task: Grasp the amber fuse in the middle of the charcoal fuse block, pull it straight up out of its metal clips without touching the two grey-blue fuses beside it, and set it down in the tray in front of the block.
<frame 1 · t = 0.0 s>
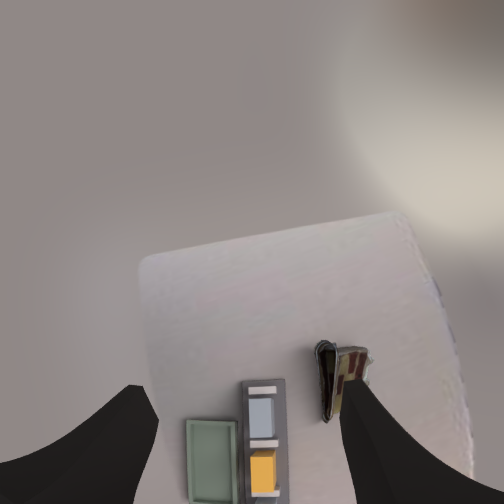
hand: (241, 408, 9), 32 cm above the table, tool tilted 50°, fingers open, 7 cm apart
fuse 1: (264, 416, 35), point 1 cm above the table, touching fuse block
tray: (214, 463, 33), on the table
chocolate cake: (343, 380, 38), on the table
amber fuse: (266, 466, 31), point 1 cm above the table, touching fuse block
fuse block: (266, 464, 32), on the table
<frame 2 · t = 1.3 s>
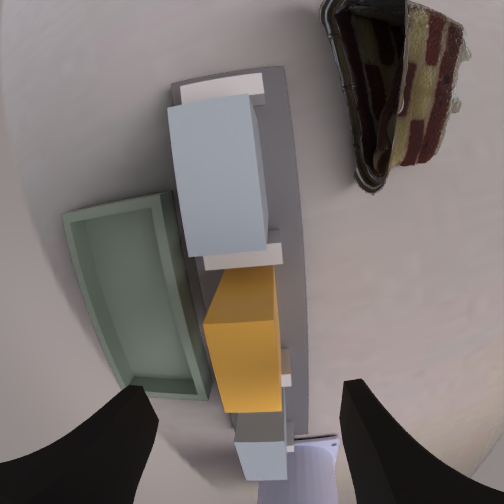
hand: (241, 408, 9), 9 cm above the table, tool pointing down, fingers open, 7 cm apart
fuse 1: (237, 170, 14), point 1 cm above the table, touching fuse block
tray: (144, 303, 18), on the table
chocolate cake: (396, 90, 14), on the table
amber fuse: (254, 305, 17), point 1 cm above the table, touching fuse block
fuse 2: (266, 395, 19), point 1 cm above the table, touching fuse block
fuse block: (255, 297, 18), on the table
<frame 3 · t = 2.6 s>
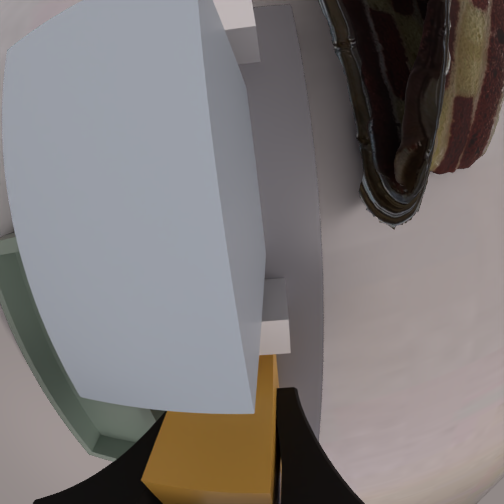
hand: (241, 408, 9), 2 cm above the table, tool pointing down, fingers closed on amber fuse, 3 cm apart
fuse 1: (211, 176, 8), point 1 cm above the table, touching fuse block
tray: (97, 361, 12), on the table
chocolate cake: (419, 55, 7), on the table
amber fuse: (244, 382, 10), point 1 cm above the table, touching fuse block, gripper
fuse block: (246, 366, 11), on the table
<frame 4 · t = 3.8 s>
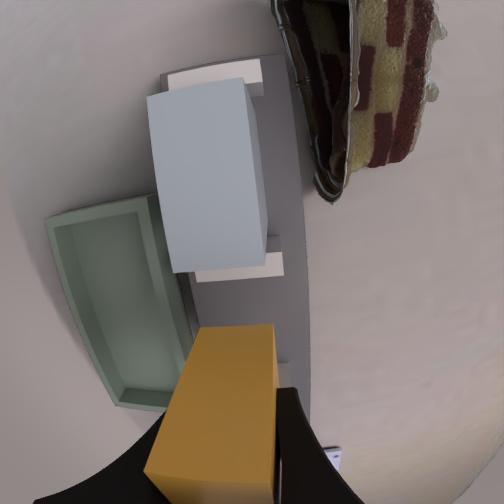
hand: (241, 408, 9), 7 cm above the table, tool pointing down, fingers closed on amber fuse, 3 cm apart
fuse 1: (233, 169, 13), point 1 cm above the table, touching fuse block
tray: (134, 313, 17), on the table
chocolate cake: (362, 81, 12), on the table
amber fuse: (245, 378, 11), point 6 cm above the table, touching gripper
fuse block: (253, 308, 16), on the table
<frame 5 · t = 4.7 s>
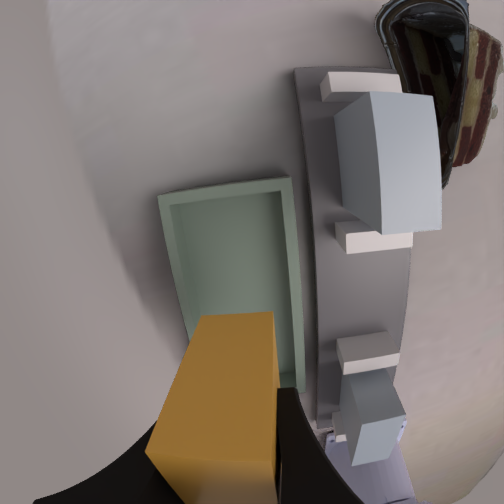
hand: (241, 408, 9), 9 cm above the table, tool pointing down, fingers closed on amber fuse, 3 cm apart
fuse 1: (361, 160, 14), point 1 cm above the table, touching fuse block
tray: (243, 295, 18), on the table
chocolate cake: (442, 97, 14), on the table
amber fuse: (245, 366, 11), point 7 cm above the table, touching gripper
fuse 2: (358, 381, 19), point 1 cm above the table, touching fuse block
fuse block: (361, 283, 17), on the table
when the fingers open (3 cm above the table, at t = 6.6 s): amber fuse stays where it is, resting on tray.
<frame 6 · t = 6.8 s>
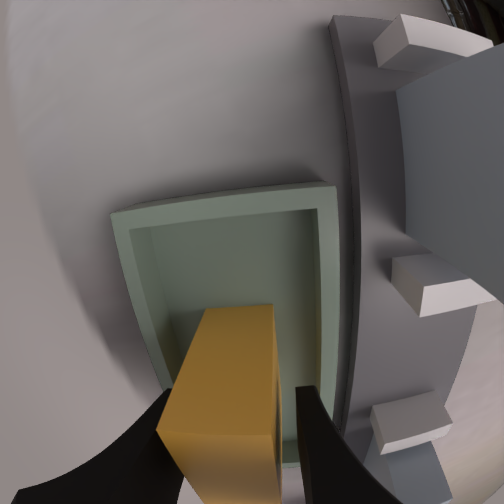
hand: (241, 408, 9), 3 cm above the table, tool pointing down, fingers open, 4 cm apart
fuse 1: (434, 162, 8), point 1 cm above the table, touching fuse block
tray: (248, 354, 12), on the table
amber fuse: (247, 357, 12), resting on tray
fuse 2: (389, 443, 13), point 1 cm above the table, touching fuse block
fuse block: (411, 335, 11), on the table
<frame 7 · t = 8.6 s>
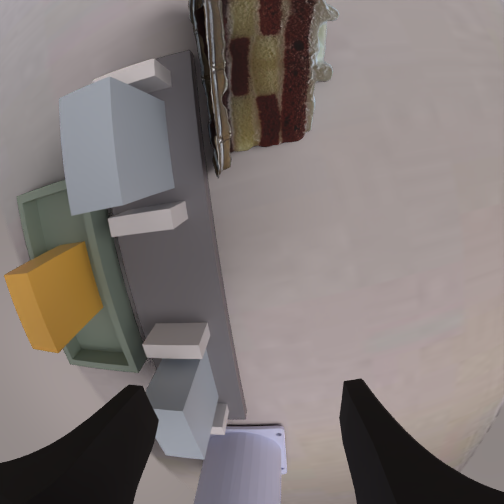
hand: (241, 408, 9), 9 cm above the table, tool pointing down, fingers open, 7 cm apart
fuse 1: (147, 148, 15), point 1 cm above the table, touching fuse block
tray: (84, 276, 19), on the table
chocolate cake: (266, 70, 14), on the table
amber fuse: (80, 276, 18), resting on tray
fuse 2: (194, 372, 19), point 1 cm above the table, touching fuse block
fuse block: (174, 269, 18), on the table
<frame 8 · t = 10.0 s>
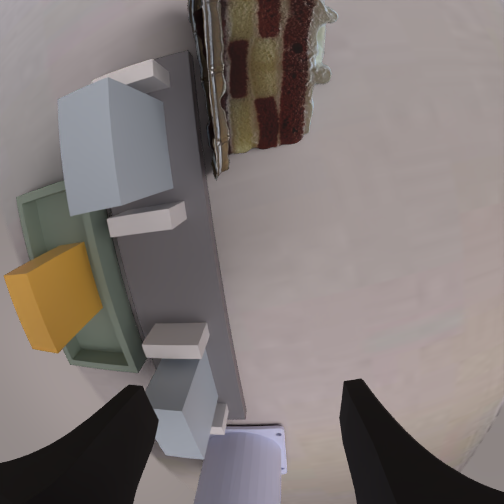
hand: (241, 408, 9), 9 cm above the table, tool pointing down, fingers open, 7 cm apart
fuse 1: (146, 148, 15), point 1 cm above the table, touching fuse block
tray: (83, 276, 19), on the table
chocolate cake: (264, 72, 14), on the table
amber fuse: (80, 276, 18), resting on tray
fuse 2: (194, 372, 19), point 1 cm above the table, touching fuse block
fuse block: (173, 270, 18), on the table
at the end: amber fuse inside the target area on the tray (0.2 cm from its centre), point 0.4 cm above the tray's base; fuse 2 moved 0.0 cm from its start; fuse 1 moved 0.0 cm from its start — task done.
